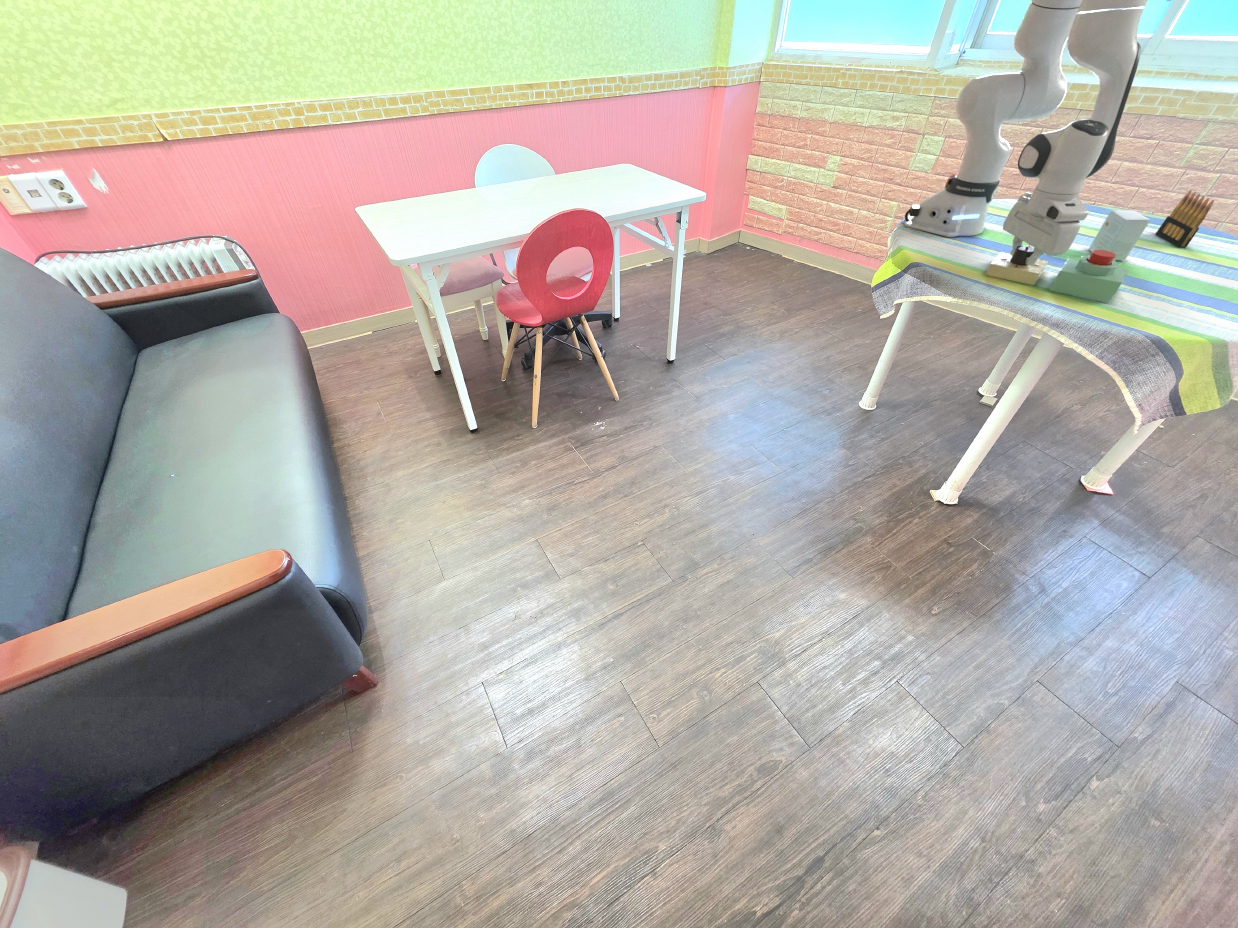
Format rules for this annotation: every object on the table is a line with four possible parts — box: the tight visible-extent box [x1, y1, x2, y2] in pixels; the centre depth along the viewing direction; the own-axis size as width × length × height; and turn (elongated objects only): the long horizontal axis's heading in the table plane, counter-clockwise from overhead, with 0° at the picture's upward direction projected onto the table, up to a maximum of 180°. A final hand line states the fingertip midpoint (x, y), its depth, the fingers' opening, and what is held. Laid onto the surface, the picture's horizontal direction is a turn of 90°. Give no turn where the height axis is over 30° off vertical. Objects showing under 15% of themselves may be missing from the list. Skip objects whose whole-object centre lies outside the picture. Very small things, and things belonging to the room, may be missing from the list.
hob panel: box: [985, 251, 1049, 286], centre depth 130 cm, size 11×10×3 cm
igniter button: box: [1087, 250, 1116, 266], centre depth 118 cm, size 4×4×2 cm
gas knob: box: [1010, 244, 1035, 265], centre depth 128 cm, size 4×4×4 cm
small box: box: [1088, 209, 1151, 261], centre depth 133 cm, size 8×6×10 cm
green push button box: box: [1048, 255, 1129, 304], centre depth 121 cm, size 12×10×7 cm
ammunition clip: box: [1155, 189, 1215, 248], centre depth 138 cm, size 11×2×12 cm, turn 172°
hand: (1021, 260), depth 129 cm, fingers closed on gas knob, 4 cm apart
